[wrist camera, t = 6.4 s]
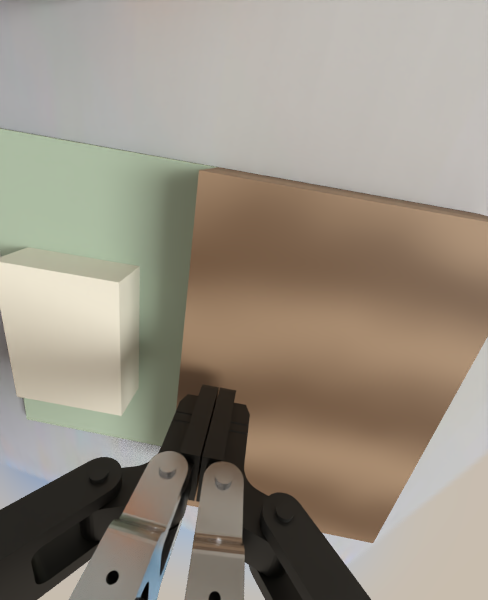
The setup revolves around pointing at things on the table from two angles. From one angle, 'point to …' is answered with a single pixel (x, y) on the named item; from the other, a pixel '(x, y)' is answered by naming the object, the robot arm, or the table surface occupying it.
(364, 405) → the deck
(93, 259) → the tile
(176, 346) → the mat
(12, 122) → the table surface
